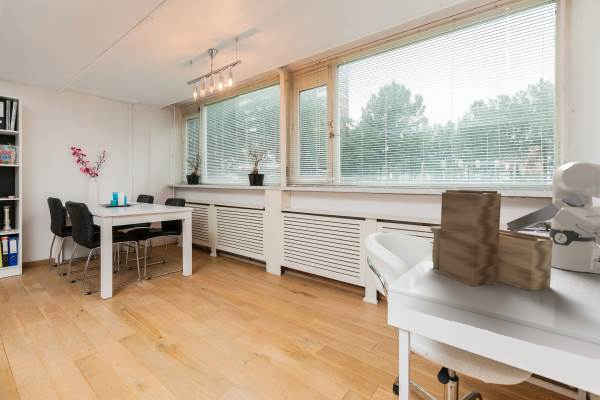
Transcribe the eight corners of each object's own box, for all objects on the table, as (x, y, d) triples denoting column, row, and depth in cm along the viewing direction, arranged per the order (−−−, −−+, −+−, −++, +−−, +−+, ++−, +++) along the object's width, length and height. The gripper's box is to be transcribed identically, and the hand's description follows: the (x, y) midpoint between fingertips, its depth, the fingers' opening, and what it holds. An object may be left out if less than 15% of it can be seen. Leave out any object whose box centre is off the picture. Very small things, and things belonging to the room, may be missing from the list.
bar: (517, 231, 91) (512, 222, 92) (590, 203, 74) (583, 193, 75) (510, 232, 90) (506, 223, 91) (583, 204, 73) (576, 193, 74)
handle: (449, 268, 105) (450, 227, 104) (438, 270, 102) (439, 229, 101) (437, 264, 109) (438, 225, 108) (426, 267, 106) (427, 227, 105)
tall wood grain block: (460, 270, 102) (464, 189, 100) (496, 282, 90) (501, 190, 88) (439, 273, 99) (442, 189, 97) (473, 286, 87) (477, 191, 85)
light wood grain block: (500, 272, 101) (502, 229, 100) (549, 287, 86) (553, 236, 86) (481, 275, 98) (483, 230, 97) (529, 291, 83) (532, 238, 82)
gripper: (585, 247, 66) (529, 212, 77) (632, 241, 73) (575, 210, 84) (605, 225, 63) (544, 192, 73) (652, 221, 70) (590, 191, 81)
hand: (561, 201), depth 79 cm, fingers closed on bar, 3 cm apart
